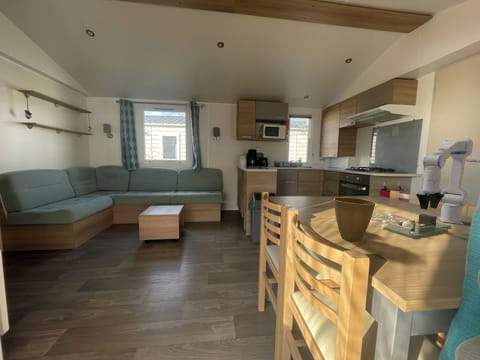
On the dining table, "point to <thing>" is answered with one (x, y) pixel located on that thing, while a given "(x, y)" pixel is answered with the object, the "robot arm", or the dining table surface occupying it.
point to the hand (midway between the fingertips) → (428, 208)
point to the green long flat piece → (423, 230)
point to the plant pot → (353, 217)
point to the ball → (407, 224)
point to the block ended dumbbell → (425, 221)
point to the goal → (402, 228)
